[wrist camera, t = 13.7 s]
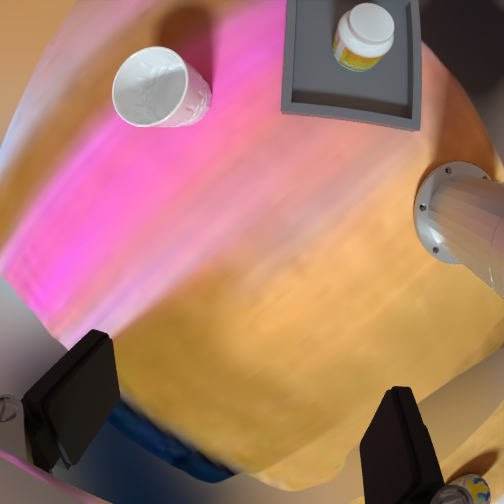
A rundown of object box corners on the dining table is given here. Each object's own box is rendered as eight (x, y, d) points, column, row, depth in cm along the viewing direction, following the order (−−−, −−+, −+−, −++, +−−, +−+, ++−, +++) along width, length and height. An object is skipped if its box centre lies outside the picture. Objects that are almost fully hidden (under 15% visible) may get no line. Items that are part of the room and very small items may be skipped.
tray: (411, 5, 27) (417, -4, 24) (411, 131, 32) (419, 130, 29) (289, -13, 29) (288, -24, 26) (282, 114, 34) (280, 110, 31)
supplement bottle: (322, 41, 30) (328, 6, 21) (362, 24, 28) (379, -11, 19) (348, 80, 31) (363, 56, 22) (387, 63, 29) (413, 37, 20)
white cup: (198, 57, 33) (165, 31, 24) (229, 109, 35) (203, 95, 25) (145, 92, 35) (100, 79, 26) (173, 143, 37) (132, 143, 27)
